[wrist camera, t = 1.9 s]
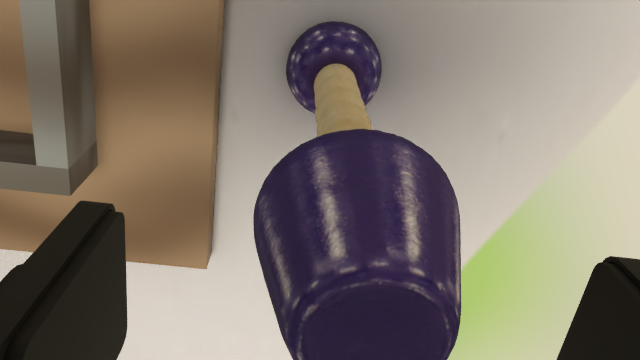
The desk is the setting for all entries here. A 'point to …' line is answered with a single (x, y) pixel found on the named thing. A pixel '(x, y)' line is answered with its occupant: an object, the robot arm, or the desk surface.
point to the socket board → (111, 120)
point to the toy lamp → (357, 221)
